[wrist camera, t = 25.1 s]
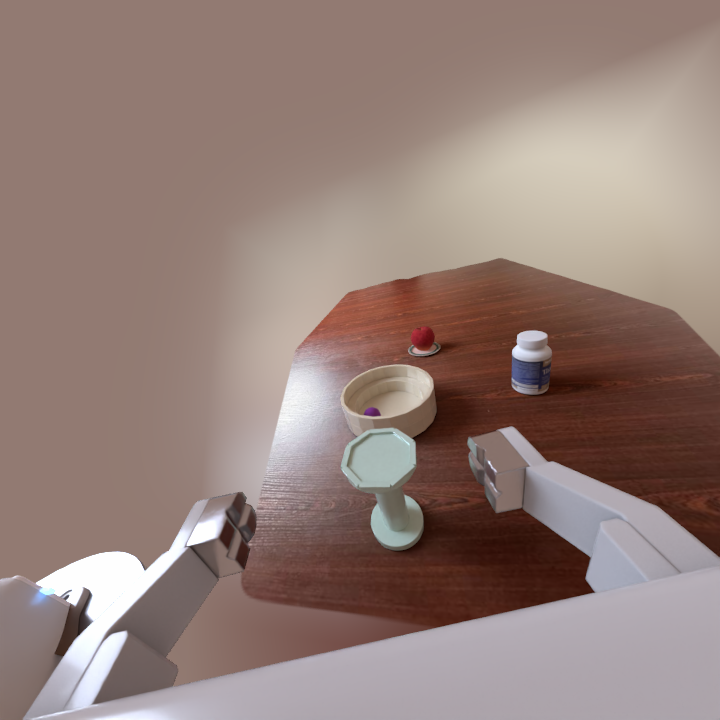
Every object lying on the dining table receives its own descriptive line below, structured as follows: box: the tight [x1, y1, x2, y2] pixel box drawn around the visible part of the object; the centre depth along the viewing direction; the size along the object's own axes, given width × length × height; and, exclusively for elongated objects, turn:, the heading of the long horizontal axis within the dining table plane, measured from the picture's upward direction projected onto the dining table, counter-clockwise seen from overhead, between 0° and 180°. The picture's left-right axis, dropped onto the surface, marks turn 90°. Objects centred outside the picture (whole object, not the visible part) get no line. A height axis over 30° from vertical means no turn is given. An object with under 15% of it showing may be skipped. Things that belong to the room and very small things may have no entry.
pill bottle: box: [512, 331, 552, 395], centre depth 43 cm, size 5×5×10 cm
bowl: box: [340, 365, 437, 438], centre depth 46 cm, size 16×16×6 cm
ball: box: [364, 407, 381, 417], centre depth 45 cm, size 3×3×3 cm
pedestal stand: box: [341, 428, 424, 551], centre depth 28 cm, size 7×7×11 cm
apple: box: [408, 327, 440, 356], centre depth 65 cm, size 8×8×6 cm
